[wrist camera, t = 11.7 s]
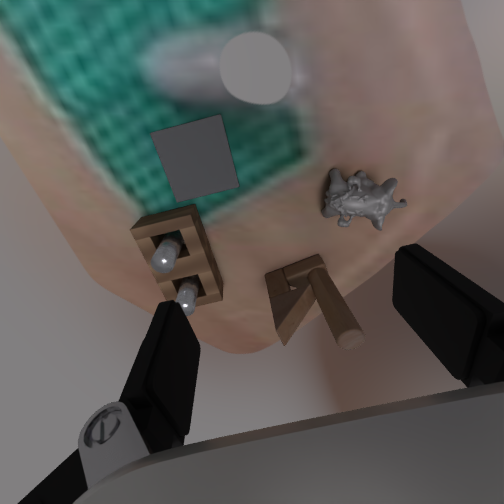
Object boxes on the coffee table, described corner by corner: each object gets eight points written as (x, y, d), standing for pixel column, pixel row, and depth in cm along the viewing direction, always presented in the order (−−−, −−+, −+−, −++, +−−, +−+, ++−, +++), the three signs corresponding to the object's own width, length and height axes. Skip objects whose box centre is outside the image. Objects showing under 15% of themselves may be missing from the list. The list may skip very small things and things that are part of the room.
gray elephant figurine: (314, 172, 38) (328, 185, 32) (393, 149, 37) (426, 158, 30) (322, 224, 43) (336, 246, 36) (393, 206, 42) (421, 224, 35)
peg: (165, 226, 41) (146, 256, 32) (182, 222, 40) (168, 251, 32) (172, 242, 42) (156, 275, 33) (189, 238, 42) (177, 270, 33)
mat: (150, 133, 34) (149, 133, 34) (220, 114, 33) (220, 114, 33) (177, 201, 39) (177, 202, 38) (239, 186, 38) (239, 186, 38)
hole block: (141, 217, 40) (129, 229, 35) (195, 203, 39) (190, 214, 35) (178, 293, 47) (172, 311, 43) (223, 283, 47) (222, 300, 42)
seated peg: (182, 266, 44) (170, 303, 36) (198, 262, 44) (190, 298, 36) (188, 279, 46) (178, 318, 37) (204, 276, 46) (197, 313, 37)
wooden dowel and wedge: (264, 274, 46) (280, 354, 31) (318, 252, 45) (364, 325, 29) (270, 288, 48) (289, 371, 32) (323, 268, 47) (369, 345, 31)
